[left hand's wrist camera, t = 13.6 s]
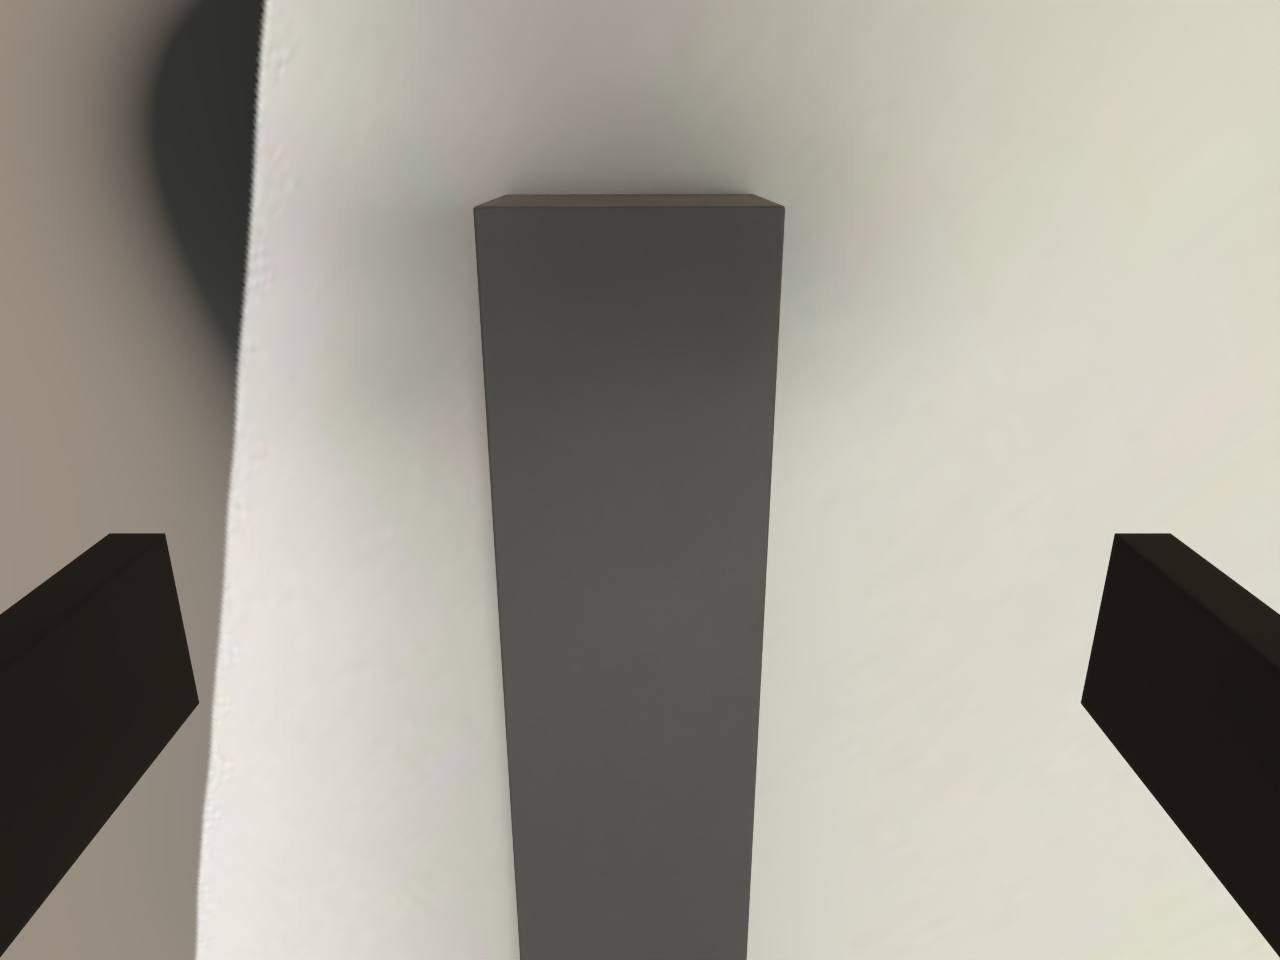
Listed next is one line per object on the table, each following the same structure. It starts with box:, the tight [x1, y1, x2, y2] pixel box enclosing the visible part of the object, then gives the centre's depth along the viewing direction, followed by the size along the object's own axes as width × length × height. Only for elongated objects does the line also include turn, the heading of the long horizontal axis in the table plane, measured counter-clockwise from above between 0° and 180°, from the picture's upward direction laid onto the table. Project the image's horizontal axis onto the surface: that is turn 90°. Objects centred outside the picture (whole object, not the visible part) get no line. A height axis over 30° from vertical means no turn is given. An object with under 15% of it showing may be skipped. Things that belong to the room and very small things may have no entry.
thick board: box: [473, 194, 785, 960], centre depth 44 cm, size 69×10×7 cm, turn 0°
